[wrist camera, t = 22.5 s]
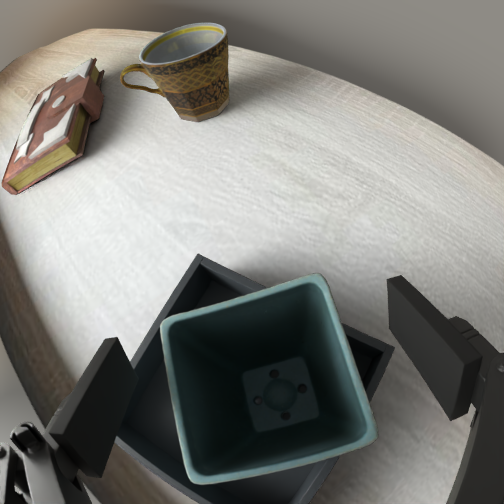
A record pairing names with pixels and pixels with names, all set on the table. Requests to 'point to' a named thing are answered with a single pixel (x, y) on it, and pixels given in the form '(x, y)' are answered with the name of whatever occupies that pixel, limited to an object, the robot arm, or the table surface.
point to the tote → (267, 485)
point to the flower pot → (264, 383)
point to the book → (55, 127)
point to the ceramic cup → (188, 69)
